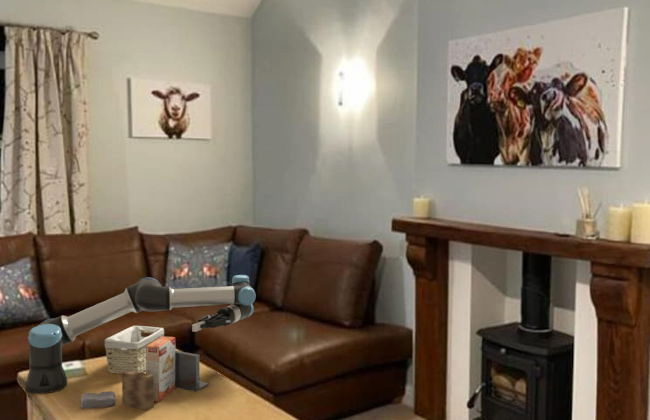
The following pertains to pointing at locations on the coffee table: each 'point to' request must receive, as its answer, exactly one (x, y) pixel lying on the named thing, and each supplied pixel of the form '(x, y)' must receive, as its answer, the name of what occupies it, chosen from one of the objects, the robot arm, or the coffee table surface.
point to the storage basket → (130, 348)
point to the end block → (137, 390)
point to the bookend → (188, 372)
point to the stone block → (98, 400)
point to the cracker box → (161, 366)
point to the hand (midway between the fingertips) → (193, 328)
